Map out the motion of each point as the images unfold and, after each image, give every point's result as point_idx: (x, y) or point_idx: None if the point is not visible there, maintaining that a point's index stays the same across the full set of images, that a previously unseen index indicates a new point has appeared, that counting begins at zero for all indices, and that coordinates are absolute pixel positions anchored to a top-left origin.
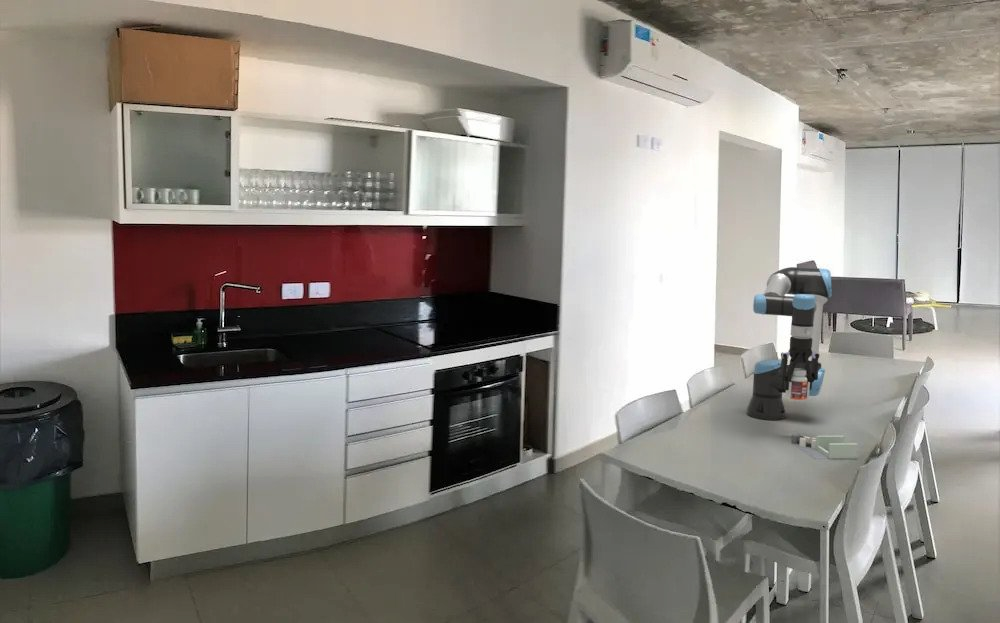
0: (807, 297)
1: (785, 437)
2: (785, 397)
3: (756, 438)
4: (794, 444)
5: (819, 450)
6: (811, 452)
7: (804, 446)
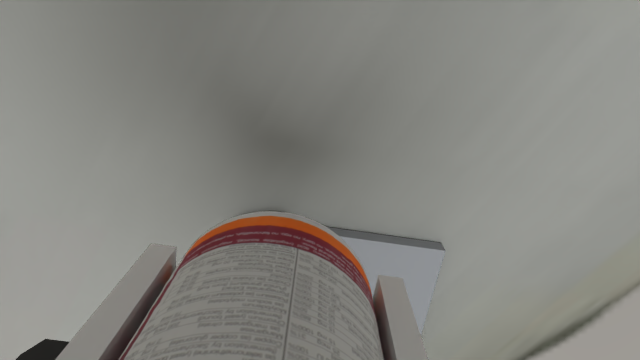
0: None
1: (289, 92)
2: (149, 251)
3: (110, 82)
4: None
5: None
6: None
7: None
